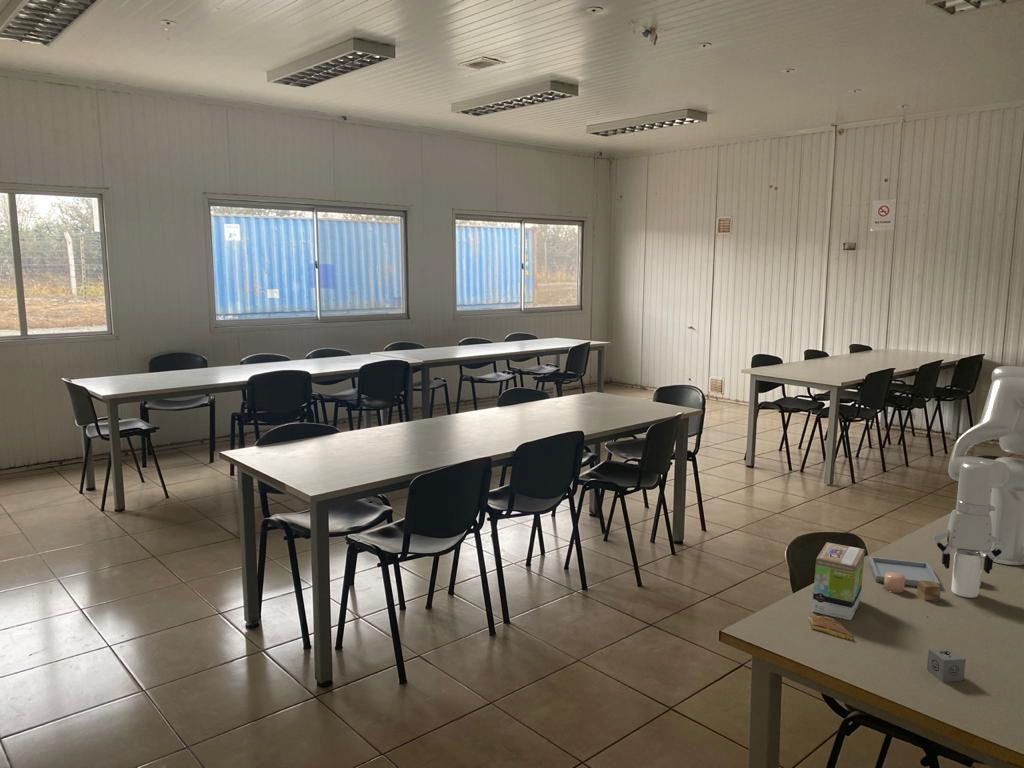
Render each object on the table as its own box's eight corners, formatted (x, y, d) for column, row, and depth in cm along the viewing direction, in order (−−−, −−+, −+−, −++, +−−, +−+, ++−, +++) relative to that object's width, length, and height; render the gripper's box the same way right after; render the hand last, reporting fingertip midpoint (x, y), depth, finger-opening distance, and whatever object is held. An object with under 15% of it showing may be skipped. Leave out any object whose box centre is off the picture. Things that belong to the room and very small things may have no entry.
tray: (927, 568, 227) (928, 562, 226) (939, 589, 211) (939, 583, 211) (868, 562, 231) (869, 556, 231) (875, 581, 216) (876, 575, 216)
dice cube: (947, 669, 169) (949, 647, 168) (963, 681, 164) (965, 659, 163) (926, 670, 168) (928, 649, 167) (942, 682, 163) (944, 660, 162)
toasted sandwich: (853, 643, 181) (854, 636, 181) (822, 643, 181) (822, 636, 181) (833, 622, 192) (834, 615, 192) (803, 622, 192) (804, 615, 192)
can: (971, 589, 212) (975, 547, 210) (983, 599, 205) (987, 556, 204) (946, 588, 212) (950, 547, 211) (957, 598, 206) (961, 555, 204)
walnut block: (932, 595, 208) (933, 581, 207) (939, 601, 204) (940, 586, 204) (917, 594, 208) (918, 580, 208) (924, 600, 204) (925, 586, 204)
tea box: (852, 621, 191) (856, 565, 189) (810, 612, 197) (814, 557, 195) (861, 600, 204) (865, 547, 202) (821, 592, 209) (825, 540, 207)
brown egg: (902, 587, 213) (903, 573, 212) (905, 594, 208) (906, 580, 208) (882, 584, 215) (883, 571, 214) (885, 591, 210) (886, 578, 209)
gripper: (1005, 508, 206) (998, 569, 208) (933, 501, 211) (927, 560, 213) (1013, 515, 199) (1006, 578, 201) (939, 508, 204) (933, 569, 206)
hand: (966, 569), depth 207 cm, fingers open, 9 cm apart
